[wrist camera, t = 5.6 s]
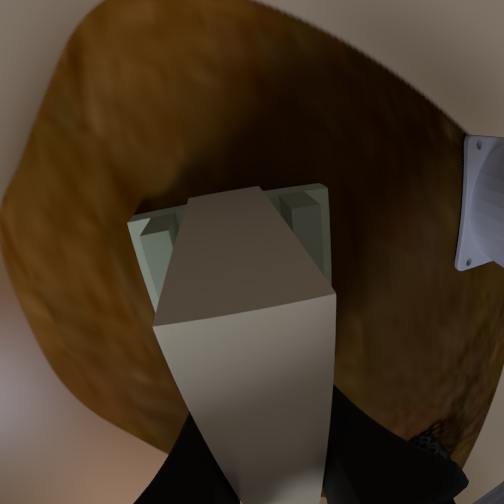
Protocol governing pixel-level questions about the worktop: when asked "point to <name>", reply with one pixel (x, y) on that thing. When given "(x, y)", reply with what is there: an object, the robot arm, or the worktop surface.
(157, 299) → the rack
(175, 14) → the worktop surface
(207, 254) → the beige rectangular block
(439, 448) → the decorative element
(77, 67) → the worktop surface
